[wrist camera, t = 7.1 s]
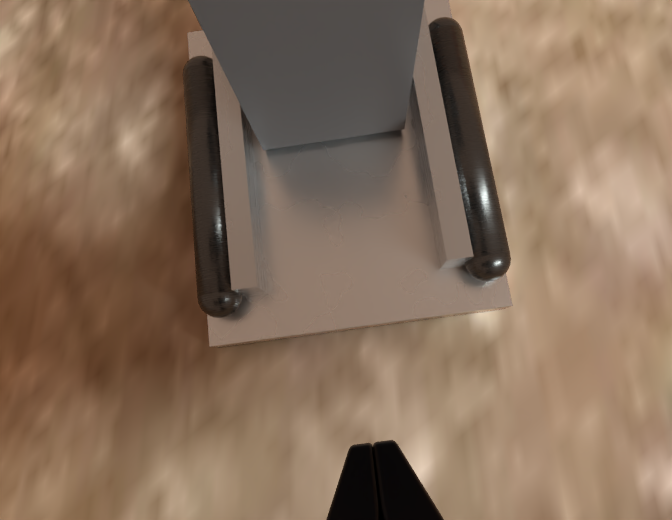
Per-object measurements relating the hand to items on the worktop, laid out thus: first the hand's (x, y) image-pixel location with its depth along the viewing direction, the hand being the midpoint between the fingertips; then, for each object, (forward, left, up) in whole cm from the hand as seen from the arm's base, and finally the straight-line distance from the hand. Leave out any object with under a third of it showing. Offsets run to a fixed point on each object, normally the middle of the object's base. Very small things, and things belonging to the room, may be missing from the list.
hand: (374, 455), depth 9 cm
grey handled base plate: (+1, -8, -7) cm, 11 cm away
